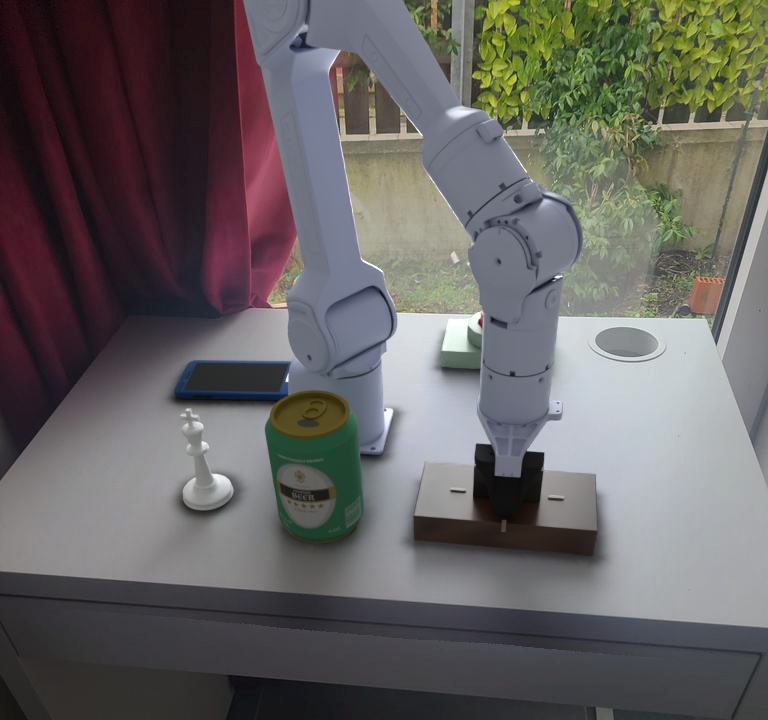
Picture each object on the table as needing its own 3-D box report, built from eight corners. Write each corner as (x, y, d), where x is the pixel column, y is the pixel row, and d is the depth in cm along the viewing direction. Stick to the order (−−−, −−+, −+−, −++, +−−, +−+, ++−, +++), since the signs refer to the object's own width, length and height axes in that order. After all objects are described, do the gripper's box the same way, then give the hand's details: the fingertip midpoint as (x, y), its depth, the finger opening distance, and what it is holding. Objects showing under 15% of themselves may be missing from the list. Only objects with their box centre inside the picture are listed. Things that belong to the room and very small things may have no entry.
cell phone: (292, 400, 92) (291, 395, 91) (172, 398, 93) (171, 393, 93) (303, 366, 97) (302, 360, 97) (190, 365, 99) (188, 359, 98)
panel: (411, 548, 73) (411, 522, 71) (426, 478, 81) (426, 452, 79) (593, 565, 71) (598, 538, 69) (591, 490, 78) (595, 464, 76)
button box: (440, 367, 96) (441, 337, 94) (448, 333, 102) (448, 304, 100) (543, 372, 94) (546, 342, 92) (545, 338, 100) (548, 308, 98)
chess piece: (223, 513, 78) (203, 427, 71) (175, 507, 79) (151, 423, 72) (240, 481, 82) (223, 396, 75) (194, 476, 82) (173, 392, 76)
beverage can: (268, 540, 75) (248, 434, 67) (295, 486, 81) (280, 382, 73) (351, 552, 73) (342, 445, 65) (373, 496, 79) (367, 391, 71)
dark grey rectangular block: (472, 497, 74) (474, 464, 71) (474, 484, 75) (475, 451, 72) (540, 502, 73) (543, 469, 70) (540, 490, 74) (544, 456, 71)
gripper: (568, 413, 59) (550, 548, 68) (568, 316, 69) (553, 445, 78) (470, 406, 60) (465, 541, 69) (485, 312, 70) (479, 440, 79)
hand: (506, 489), depth 73 cm, fingers open, 5 cm apart
